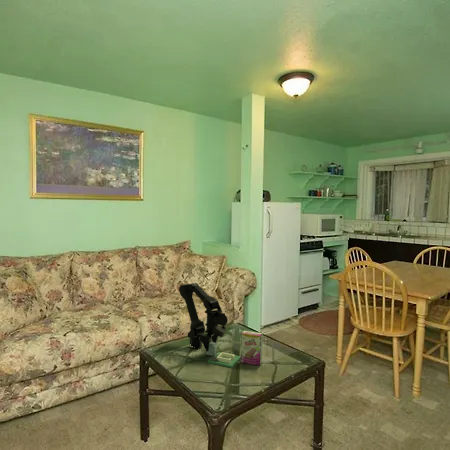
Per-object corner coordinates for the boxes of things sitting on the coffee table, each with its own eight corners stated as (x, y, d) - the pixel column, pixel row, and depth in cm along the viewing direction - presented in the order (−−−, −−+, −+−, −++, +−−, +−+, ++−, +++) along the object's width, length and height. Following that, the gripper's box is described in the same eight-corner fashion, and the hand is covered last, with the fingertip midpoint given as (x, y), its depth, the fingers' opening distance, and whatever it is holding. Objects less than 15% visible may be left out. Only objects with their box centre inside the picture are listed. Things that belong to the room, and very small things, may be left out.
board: (208, 362, 171) (208, 356, 171) (218, 354, 183) (218, 348, 183) (232, 368, 165) (232, 361, 165) (240, 358, 177) (241, 352, 177)
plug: (206, 354, 182) (206, 343, 182) (209, 351, 186) (209, 341, 186) (213, 355, 180) (214, 345, 180) (216, 353, 184) (216, 343, 184)
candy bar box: (240, 363, 172) (240, 332, 172) (242, 359, 176) (243, 330, 176) (260, 366, 168) (261, 335, 168) (262, 362, 173) (263, 332, 173)
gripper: (217, 328, 171) (216, 357, 171) (230, 319, 188) (230, 345, 188) (199, 325, 176) (198, 353, 176) (213, 316, 193) (213, 342, 193)
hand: (210, 348), depth 183 cm, fingers open, 9 cm apart
